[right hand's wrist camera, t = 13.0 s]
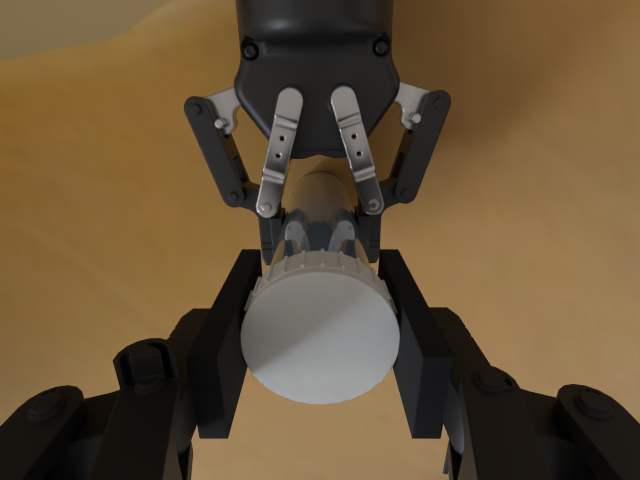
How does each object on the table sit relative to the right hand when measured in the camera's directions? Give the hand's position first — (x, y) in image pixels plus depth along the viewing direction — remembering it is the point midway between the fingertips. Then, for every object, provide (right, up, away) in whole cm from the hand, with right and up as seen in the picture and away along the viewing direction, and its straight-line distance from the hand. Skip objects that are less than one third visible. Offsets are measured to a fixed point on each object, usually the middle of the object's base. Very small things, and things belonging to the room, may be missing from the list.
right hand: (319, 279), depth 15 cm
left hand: (0, 0, +7) cm, 7 cm away
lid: (0, -1, -4) cm, 4 cm away
